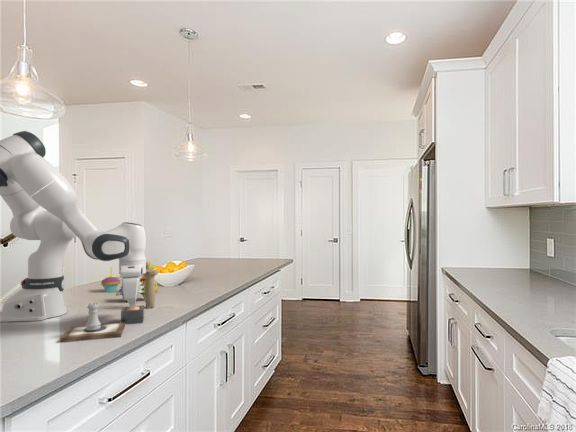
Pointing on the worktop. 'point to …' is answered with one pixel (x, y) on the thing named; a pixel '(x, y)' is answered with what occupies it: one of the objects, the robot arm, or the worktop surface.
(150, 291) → the handle
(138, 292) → the passion flower
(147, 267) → the yellow green figurine
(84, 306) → the worktop surface
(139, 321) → the button housing
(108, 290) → the cupcake
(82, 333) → the board
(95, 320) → the rook chess piece
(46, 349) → the worktop surface
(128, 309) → the button
